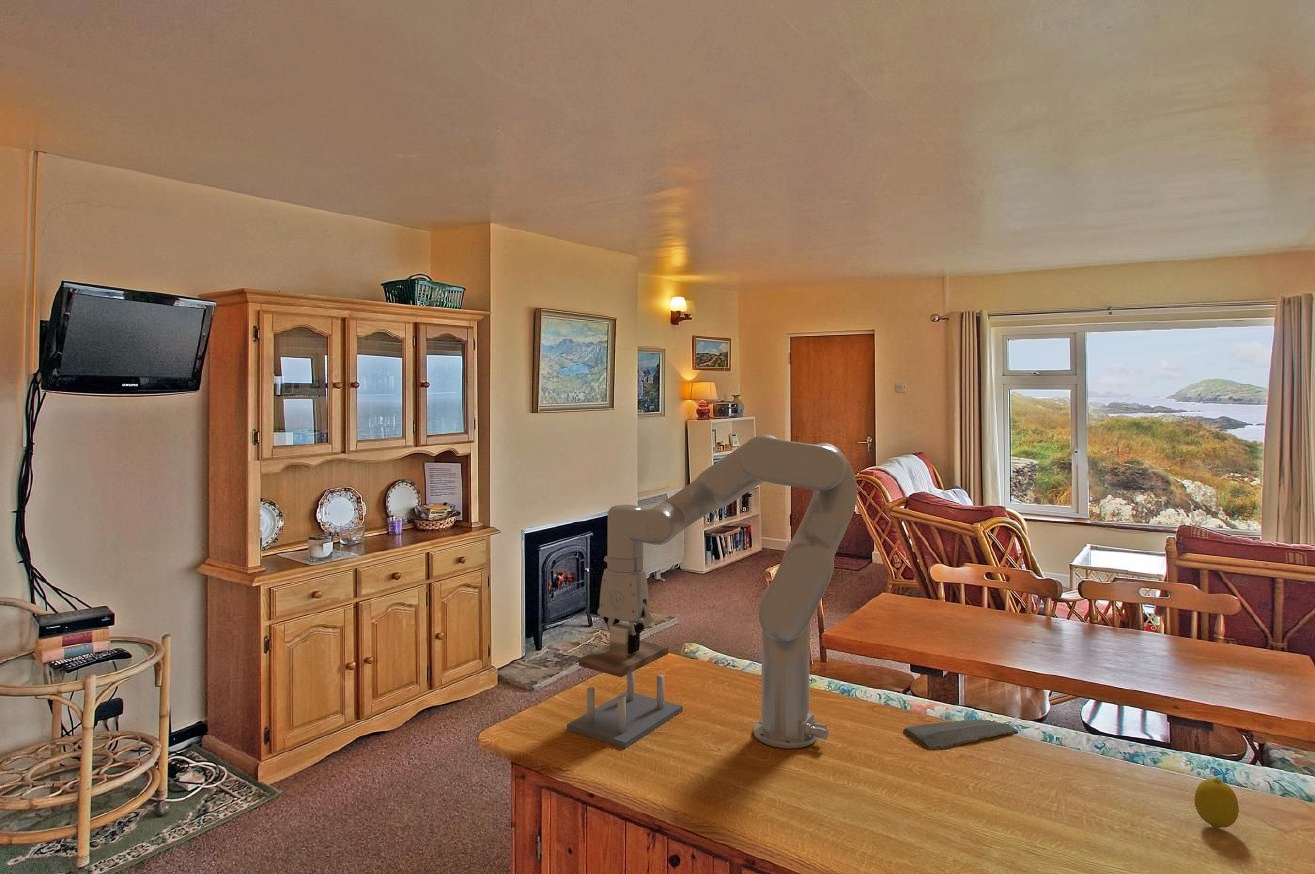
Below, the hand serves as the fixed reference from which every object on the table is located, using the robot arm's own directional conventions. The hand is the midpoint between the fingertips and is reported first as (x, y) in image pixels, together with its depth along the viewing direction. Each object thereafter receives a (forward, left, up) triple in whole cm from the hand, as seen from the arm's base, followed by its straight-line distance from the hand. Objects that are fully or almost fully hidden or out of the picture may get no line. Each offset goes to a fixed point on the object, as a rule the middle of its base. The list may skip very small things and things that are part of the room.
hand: (624, 648), depth 156 cm
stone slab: (-61, -33, -16) cm, 71 cm away
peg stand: (0, 0, -15) cm, 15 cm away
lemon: (-101, -19, -15) cm, 104 cm away
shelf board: (0, 0, -2) cm, 2 cm away
